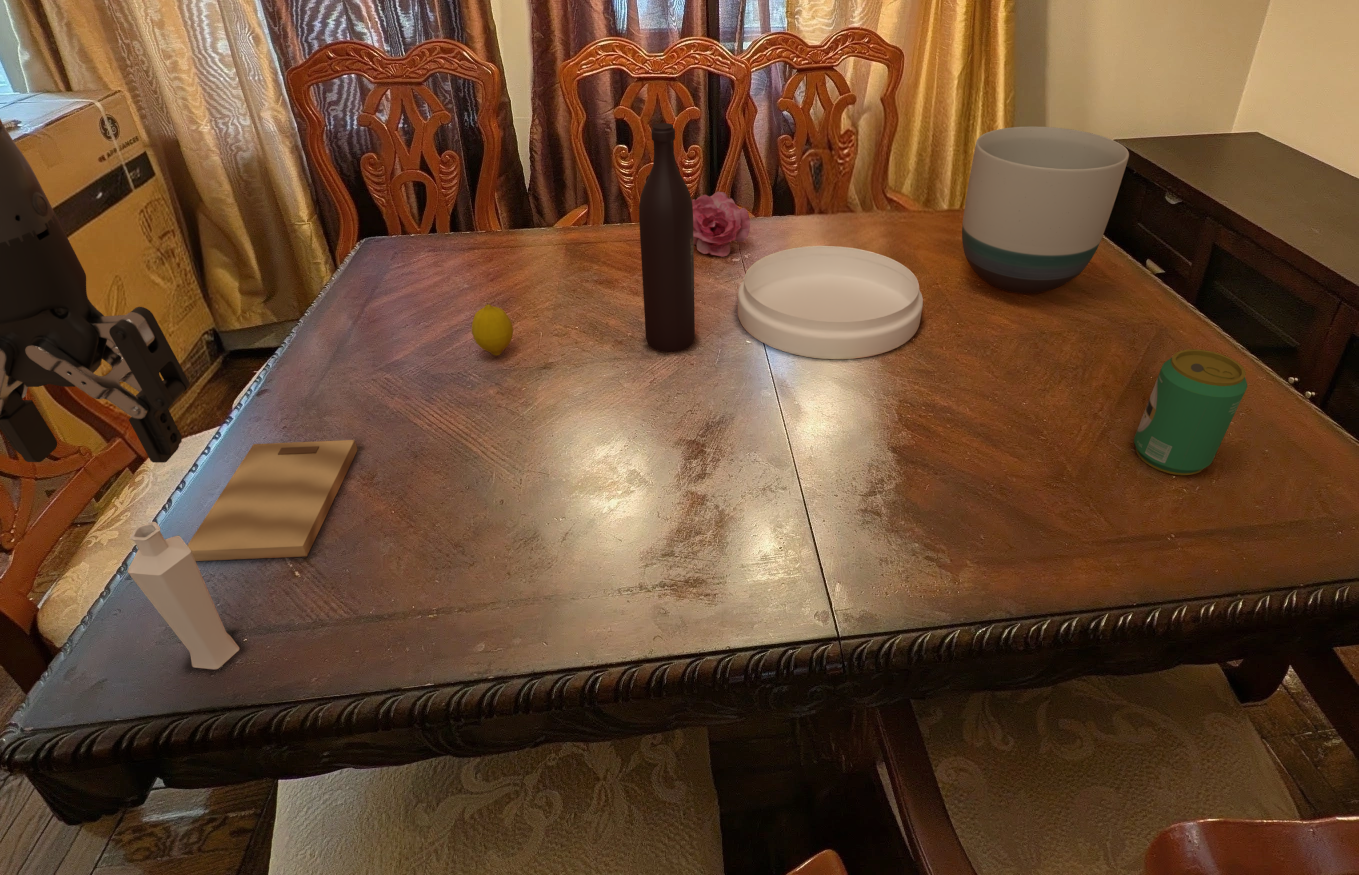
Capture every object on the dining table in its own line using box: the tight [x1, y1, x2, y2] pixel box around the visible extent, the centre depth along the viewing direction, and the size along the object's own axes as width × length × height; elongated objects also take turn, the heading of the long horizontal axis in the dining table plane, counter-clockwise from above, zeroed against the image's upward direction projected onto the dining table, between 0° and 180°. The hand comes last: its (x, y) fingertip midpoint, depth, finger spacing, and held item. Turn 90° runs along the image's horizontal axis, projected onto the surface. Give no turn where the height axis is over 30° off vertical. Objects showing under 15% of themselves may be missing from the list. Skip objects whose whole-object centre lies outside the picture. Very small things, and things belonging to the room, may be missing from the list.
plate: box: [737, 245, 924, 360], centre depth 119 cm, size 27×27×6 cm
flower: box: [691, 190, 751, 258], centre depth 140 cm, size 11×10×10 cm
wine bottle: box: [638, 122, 696, 353], centre depth 106 cm, size 7×7×30 cm
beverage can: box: [1133, 348, 1248, 476], centre depth 88 cm, size 8×8×12 cm
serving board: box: [186, 439, 358, 562], centre depth 88 cm, size 18×12×2 cm, turn 2°
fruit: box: [471, 303, 514, 357], centre depth 111 cm, size 6×6×8 cm
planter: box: [961, 126, 1130, 295], centre depth 121 cm, size 20×20×21 cm
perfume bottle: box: [127, 521, 240, 670], centre depth 68 cm, size 5×4×15 cm
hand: (105, 455), depth 54 cm, fingers open, 8 cm apart
